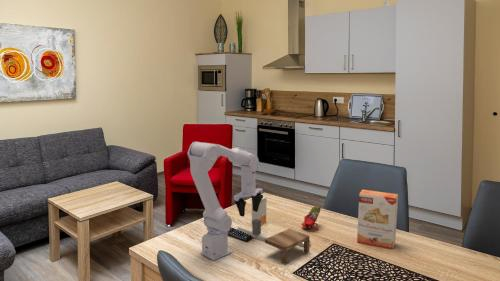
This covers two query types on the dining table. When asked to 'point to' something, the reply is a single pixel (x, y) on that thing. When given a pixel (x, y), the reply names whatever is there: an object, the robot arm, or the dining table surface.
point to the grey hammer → (254, 230)
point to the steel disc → (303, 244)
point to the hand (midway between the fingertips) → (248, 213)
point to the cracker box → (377, 218)
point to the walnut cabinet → (288, 242)
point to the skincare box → (260, 211)
